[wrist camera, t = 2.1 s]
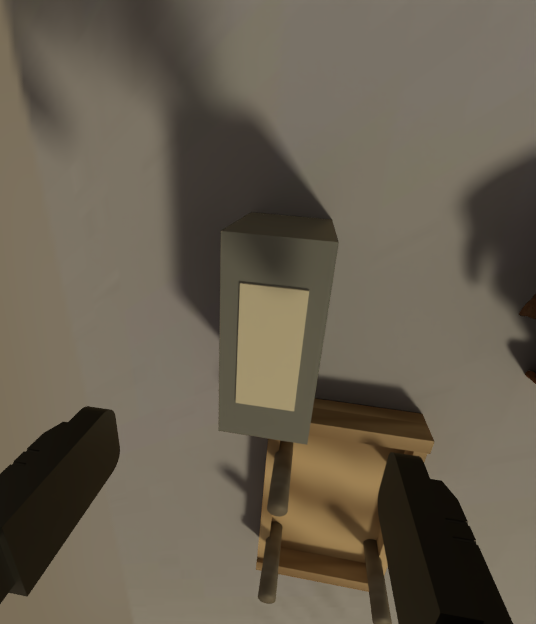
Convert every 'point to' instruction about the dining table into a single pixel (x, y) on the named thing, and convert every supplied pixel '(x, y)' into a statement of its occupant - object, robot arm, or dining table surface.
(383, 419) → the pin tray
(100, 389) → the dining table surface
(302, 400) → the block
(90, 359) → the dining table surface
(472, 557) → the robot arm
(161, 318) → the dining table surface
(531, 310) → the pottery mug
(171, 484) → the dining table surface
